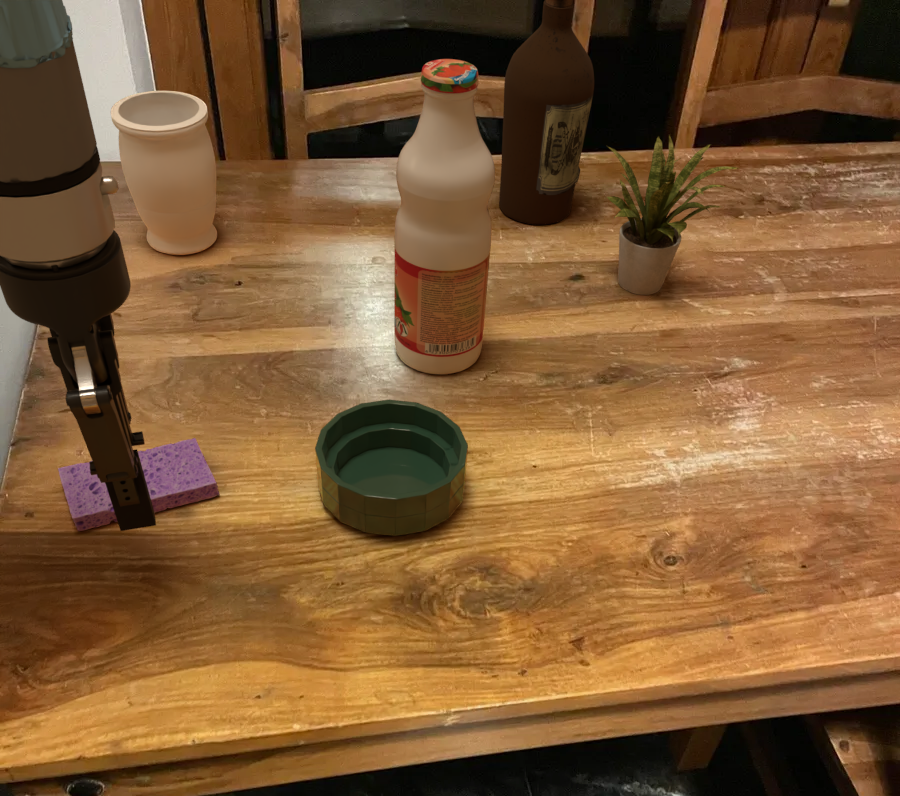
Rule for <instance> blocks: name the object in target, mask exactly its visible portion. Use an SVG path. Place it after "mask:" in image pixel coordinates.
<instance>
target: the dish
mask: <svg viewBox="0 0 900 796" xmlns="http://www.w3.org/2000/svg"><path fill="white" fill-rule="evenodd" d="M468 452H469V444H468V442H467V440H466V438H465V435H464V433H463V431H462V429H461V427H460V426H459V425H458V424H457V423H456V422H454V421H453V420H452V419H451V418H449V417H448V415H446V414H445V413H443V412H442V411H441V410H438V409H435V408H432V407H430V406H428V405H424V404H422V403H420V402H415V401H407V400H397V399H382V400H376V401H375V400H374V401H367V402H361V403H359V404H356V405H354V406H352V407H350V408H347V409H345V410H342V411H340V412H338V413H337V414H335V415H334V416H333V417H332V418H331V419H330V420H329V421H328V422H327V423H326V424H325V425H323V427H322V428H321V429H320V432H319V434H318V438H317V441H316V444H315V447H314V454H315V464H316V465H315V466H316V478H317V487H318V490H319V494H320V497H321V501H322V504H323V506H324V507H326V509H327V510H328V511H329V512H330V513H331V514H332V515H333V516H334V517H335V518H336V519H337V520H338V521H339V522H340V523H343V524H345V525H347V526H350V527H351V528H354V529H356V530H358V531H361V532H363V533H366V534H372V535H373V534H375V535H381V536H382V535H384V536H392V537H398V536H404V535H409V534H415V533H421V532H426V531H428V530H429V529H431V528H434V527H435V526H438V525H440V524H441V523H443V522H446V521H447V520H449V518H451V516H452V514H454V512H456V510H457V508H458V507H459V506H460V505H461V503H462V502H463V500H464V493H465V485H466V480H467V479H466V478H467V467H468V466H467V465H468Z"/></svg>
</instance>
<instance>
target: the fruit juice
mask: <svg viewBox="0 0 900 796" xmlns="http://www.w3.org/2000/svg"><path fill="white" fill-rule="evenodd" d="M479 79H480V78H479V70H478V68H477V67H476V66H475V65H474V64H472V63H470V62H468V61H465V60H461V59H453V58H440V59H434V60H430V61H428V62H426V63H425V64H423V66H422V68H421V73H420V83H421V85H420V88H421V90H422V92H423V94H424V95H423V104H422V108H421V112H420V115H419V118H418V123H417V125H416V128H415V130H414V132H413V134H412V136H411V137H410V138H409V139H408V141H407V142H405V144H404V145H403V147H402V149H400V153H399V154H398V157H397V161H396V171H395V177H396V178H395V179H396V186H397V190H398V193H399V196H400V197H399V198H400V205H399V206H398V209H397V213H396V216H395V223H394V236H393V237H394V239H393V242H394V244H393V245H394V246H393V247H394V249H393V250H394V282H393V283H394V285H393V286H394V291H393V292H394V306H393V307H394V308H393V309H394V310H393V311H394V312H393V313H394V317H393V319H394V321H393V323H394V329H393V330H394V333H393V334H394V335H393V336H394V347H395V351H396V354H397V356H398V357H399V359H400V360H401V361H402V362H403V363H404V364H405V365H406V366H408V367H409V368H411V369H414V370H415V371H418V372H422V373H425V374H431V375H448V374H449V375H451V374H454V373H459V372H462V371H464V370H467V369H469V368H470V367H472V366H473V365H474V364H475V363H476V362H477V360H478V359H479V357H480V355H481V353H482V348H483V342H484V330H485V319H486V318H485V317H486V308H487V307H486V305H487V293H488V282H489V271H490V270H489V269H490V258H491V249H492V219H491V215H490V212H489V209H488V204H489V202H490V199H491V196H492V193H493V190H494V187H495V182H496V167H495V162H494V158H493V156H492V153H491V151H490V149H489V147H488V146H487V144H486V142H485V141H484V138H483V137H482V134H481V132H480V129H479V124H478V120H477V116H476V110H475V102H474V101H475V100H474V96H475V95H476V94H477V93H478V87H479Z"/></svg>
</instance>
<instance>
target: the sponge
mask: <svg viewBox="0 0 900 796" xmlns="http://www.w3.org/2000/svg"><path fill="white" fill-rule="evenodd" d="M137 451H138V454H139V458H140V462H141V465H142V469H143V473H144V476H145V480H146V483H147V487H148V491H149V494H150V498H151V502H152V505H153V509H154V512H155V513H158V512H163V511H165V510H167V508H168V509H173V508H176V507H181V506H183V505H188V504H193V503H198V502H200V501H204V500H209V499H212V498H215V497H216V496H220V491H219V486H218V483H217V480H216V478H215V476H214V474H213V472H212V471H211V468H210V466H209V464H208V462H207V461H206V458H205V455H204V453H203V452H202V450H201V447H200V445H199V443H198V440H197V438H196V437H193V438H187V439H183V440H179V441H176V442H174V443H168V444H162V445H159V446H155V447H152V448H146V450H137ZM91 461H92V460H90V461H88V462H79V463H75V464H70V465H65V466H61V467H58V468H57V471H58V475H59V479H60V483H61V486H62V488H63V493H64V496H65V499H66V502H67V505H68V510H69V513H70V515H71V519H72V520H73V521H72V522H73V523H74V525H75V528H76V530H77V532H83V531H87V530H90V529H92V528H99V527H101V526H106V525H110V524H111V522H112V521H114V523H118V521H117V518H116V515H115V512H114V509H113V506H112V503H111V500H110V496H109V493H108V490H107V487H106V484H105V483H101V482H100V479H99V478H98V477H97V475H91V473H90V462H91Z"/></svg>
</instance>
